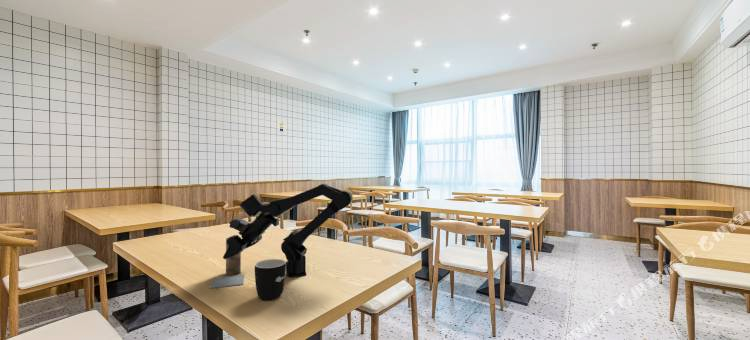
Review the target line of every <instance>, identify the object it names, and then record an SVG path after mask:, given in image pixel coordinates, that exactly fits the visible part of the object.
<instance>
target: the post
mask: <svg viewBox="0 0 750 340" xmlns="http://www.w3.org/2000/svg"><path fill="white" fill-rule="evenodd" d="M239 237H240V238H241V239H242V237H241V236H239ZM228 238H229V237H227V238H225V241H226V240H227V239H228ZM228 247H229V245H228V244H227V243H226V242H225V252H226V251H227V249H228ZM241 253H242V252H241ZM241 253H239V254H236V255H234V256H232V257H229V258H227V259H225V275H226V276H234V275H240V274H241V269H242V267H241V266H242V265H241V264H242V263H241V262H242V261H241V260H242V259H241V258H242V255H241Z"/></svg>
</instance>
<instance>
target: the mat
mask: <svg viewBox="0 0 750 340" xmlns="http://www.w3.org/2000/svg"><path fill="white" fill-rule="evenodd" d="M244 279H245V274H237V275H226V276H217V277H213V279H212V281H211V283H210V286H209V289H218V288H227V287H234V286H235V287H236V286H242V285H243V286H244V282H245V281H244Z"/></svg>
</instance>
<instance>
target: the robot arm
mask: <svg viewBox="0 0 750 340" xmlns="http://www.w3.org/2000/svg"><path fill="white" fill-rule="evenodd" d="M321 196H323V197H325V198H327V199H329V200H331V201H330V202H329V204H328V206H327V207H326V208H325V209H323V210H322V211H321V212H319V214H318V215H317V216H315V217H314V218H313V219H312V220H311V221H309V223H308V224H307V225H305V226H304V227H303V228H302V229H300V230H299V231H298V230H297V229H294V230H293V231H291V232H290V233H289V234H288V235H287V236H286V237H285V238H283V239H282V243H281V245H280V249H281V250H280V251H281V252H282V253H283V254H284V255H285V256H284V257H285V258H286V260H285V262H286V273H285V275H287V277H288V278H293V277H301V276H303V277H304V276H307V272H306V269H307V268H306V265H307V264H306V260H307V259H306V254H307V251H308V249H307V247H306V246H305V245H304V244H305V242H306V240H307V239H308V238H309V237H310V236H311V235H312V234H313V233H314V232H315V231H317V230H318V229H319V228H320V227H321V226H322V225H323V224H324V223H326V221H328V220H329V219H330V218H331V217H332V216H333V215H335V214H337V213H339V212H340V211H342V210H343V209H345V208H346V207H348V206H349V205H350V204H351V203H352V202H353V199H354V196H353V194H352V192H351V191H349V190H346V189H343V190H341V189H339V188H335V187H333V186H330V185H328V184H327V183H321V184H319V185H317V186H315V187H313V188H312V187H311V189H308V190H305V191H302V192H300V193H298V194H295V195H293V196H289V197H285V198H280V199H276V200H272V201H270V202H267V203H263V202H262V200H260V199H259V197H258V196H257V194H251V195H250V196H249V197H247V198H246V199H244V200H242V201H241V203H240V204H239V207H240V208H241V209H242V211H243V212H244V213H245V214H246V215H248V217H249V218H252V217H253V218H255V219H253V220H252V221H251V222H249V221H247V220H245V219H243V218H242V217H233V218H232V219H231V220H230V221H229V222H228V223H229V225H228V226H229V228H231V229H234V230H235V231H238V234H239V235H238V234H234V235H231V236H229V237H227V238H228V239H227V240H226V239H225V244H226V243H227V244H228V245H229V247H228V249H227V251H226V250H225V252H224V254H223V256H222V259H223V260H226V259H227V258H229V257H232V256H234V255H236V254H239V253H243V251H244V250H247V249H248V248H251V247H252V246H254V245H256V244H258V243H259V242H260V241H261V240H262V239H263V235H264V233H266V231H267V230H268V229H269V228H270V226H274V227H278V226H280V218H279V216H281V215H283V214H285V213H287V212H288V211H290V210H292V209H293V208H295V206H298V205H301V204H302V203H305V202H308V201H310V200H311V201H312V200H314V199H316V198H318V197H321ZM277 217H278V218H277ZM240 237H241V238H240Z"/></svg>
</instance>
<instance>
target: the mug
mask: <svg viewBox="0 0 750 340" xmlns="http://www.w3.org/2000/svg"><path fill="white" fill-rule="evenodd" d="M254 280H255V282H254V283H255V288H256V294H257V297H258V299H259V300H261V301H265V302H269V301H275V300H277V299H280V298H281V296H282V295H283V291H284V288H285V282H286V281H285V280H286V260H284V259H279V258H273V259H272V258H270V259H264V260H261V261H258V262H256V263H255V264H254Z"/></svg>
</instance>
